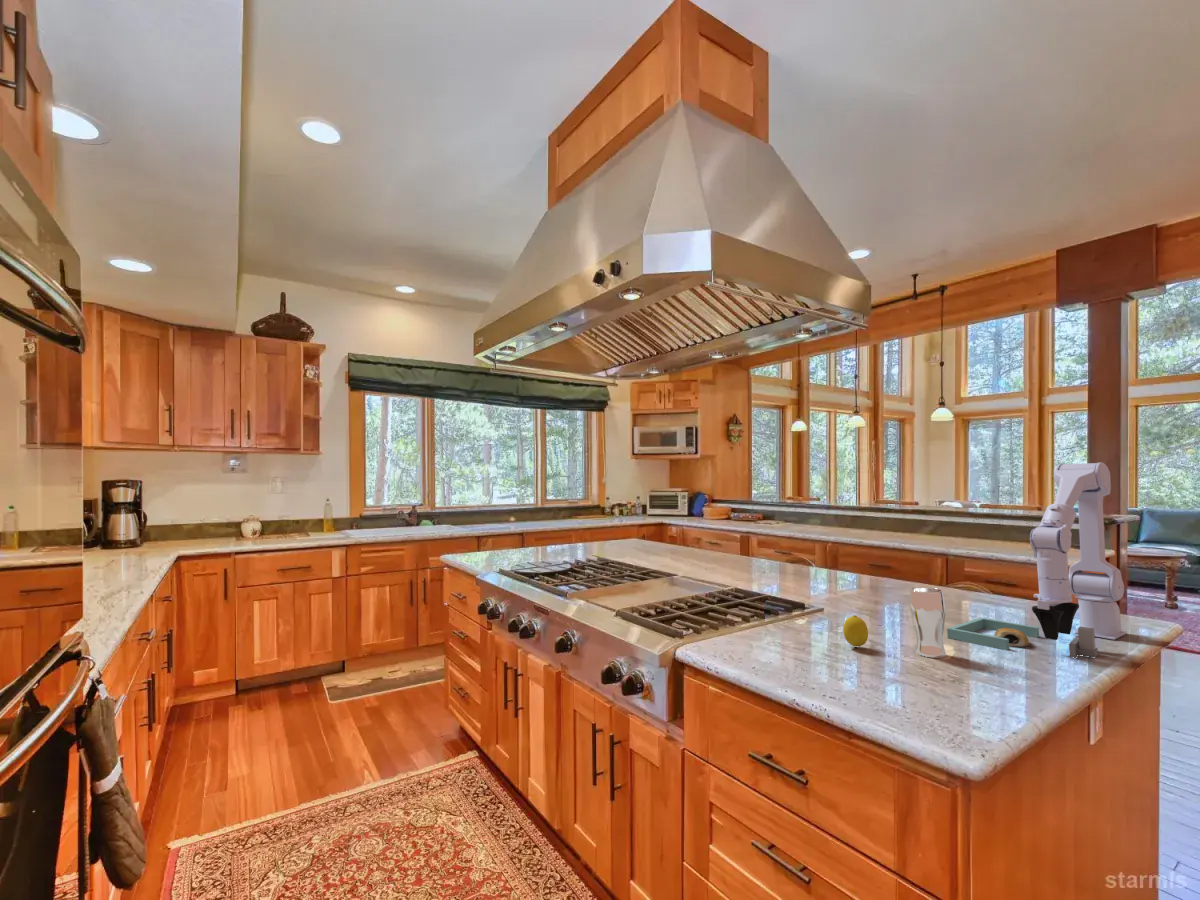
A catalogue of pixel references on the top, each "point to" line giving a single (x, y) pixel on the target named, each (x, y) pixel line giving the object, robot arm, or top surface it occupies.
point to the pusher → (1083, 643)
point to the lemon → (855, 631)
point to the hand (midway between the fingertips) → (1057, 636)
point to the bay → (968, 635)
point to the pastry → (1013, 637)
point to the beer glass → (928, 620)
